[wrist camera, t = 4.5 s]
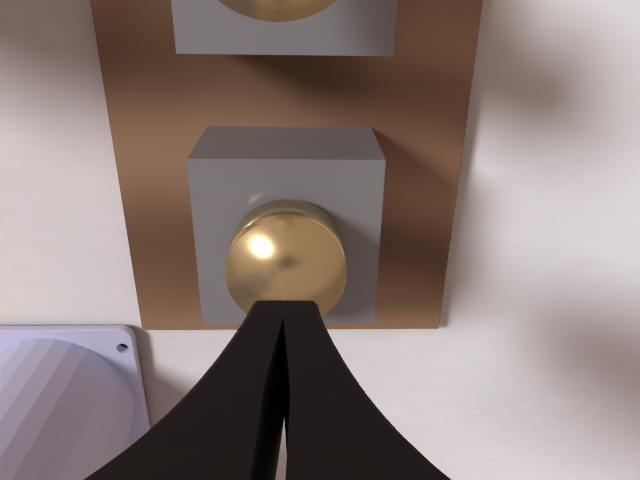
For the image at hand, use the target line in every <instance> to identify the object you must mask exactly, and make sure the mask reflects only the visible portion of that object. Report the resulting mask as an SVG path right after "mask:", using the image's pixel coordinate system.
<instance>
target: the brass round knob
mask: <svg viewBox="0 0 640 480" xmlns="http://www.w3.org/2000/svg"><path fill="white" fill-rule="evenodd" d="M218 1H219V2H221V3H222V4H223V5H225V6H226V7H228V8H230V9H231V10H233V11H235V12H237V13H239V14H242V15H244V16H247V17H250V18H253V19H257V20H262V21H269V22H289V21H294V20H299V19H303V18H306V17H309V16H312V15H315V14H316V13H318V12H320V11H322V10H324V9H326V8H327V7H329V6H330V5H332V4H333V3H335V2H336V1H337V0H218Z"/></svg>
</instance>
